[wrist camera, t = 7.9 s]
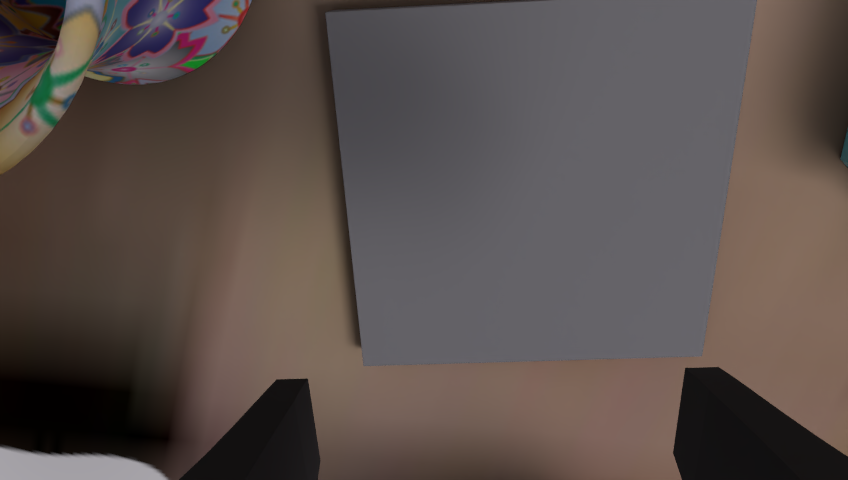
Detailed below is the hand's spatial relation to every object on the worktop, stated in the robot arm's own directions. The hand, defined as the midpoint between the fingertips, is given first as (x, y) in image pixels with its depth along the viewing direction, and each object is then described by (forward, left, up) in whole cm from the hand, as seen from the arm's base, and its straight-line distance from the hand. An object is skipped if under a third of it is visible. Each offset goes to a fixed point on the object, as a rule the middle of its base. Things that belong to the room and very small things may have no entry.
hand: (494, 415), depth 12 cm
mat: (+1, -2, -10) cm, 10 cm away
